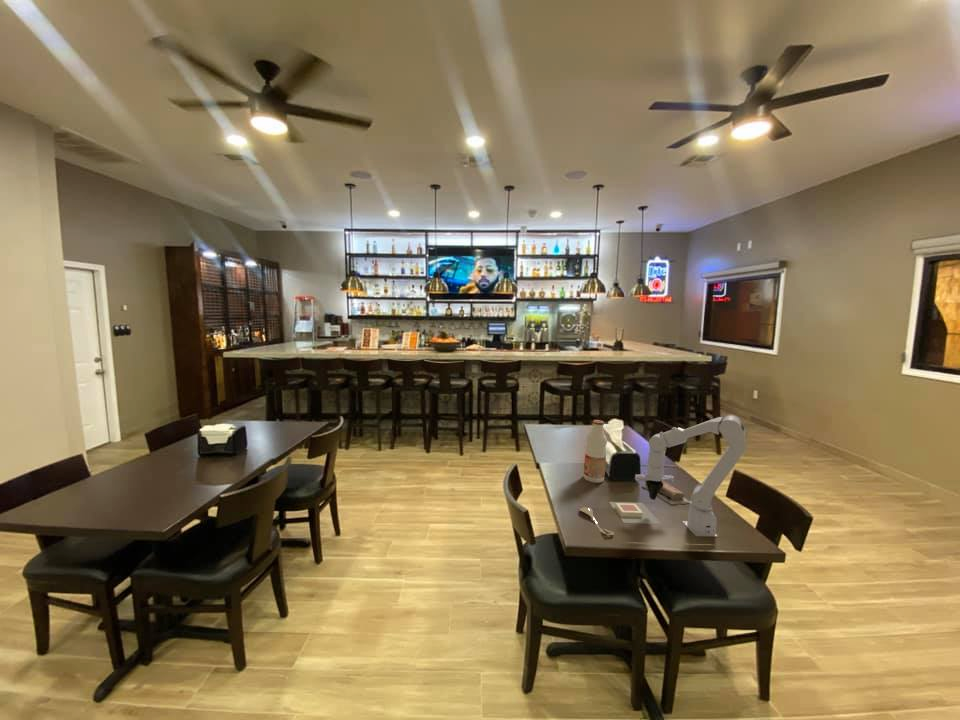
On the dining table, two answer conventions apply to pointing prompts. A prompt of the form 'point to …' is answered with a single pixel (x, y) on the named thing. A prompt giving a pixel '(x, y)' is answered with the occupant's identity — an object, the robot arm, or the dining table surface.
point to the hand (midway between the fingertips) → (652, 498)
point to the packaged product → (670, 494)
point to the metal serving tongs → (590, 513)
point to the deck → (628, 510)
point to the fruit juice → (595, 453)
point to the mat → (647, 517)
